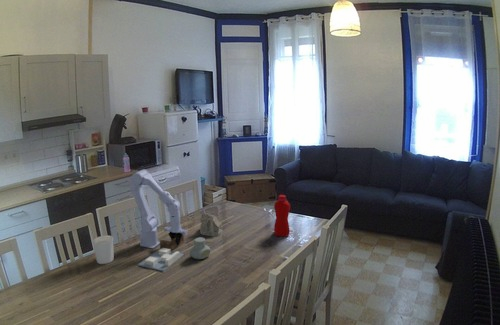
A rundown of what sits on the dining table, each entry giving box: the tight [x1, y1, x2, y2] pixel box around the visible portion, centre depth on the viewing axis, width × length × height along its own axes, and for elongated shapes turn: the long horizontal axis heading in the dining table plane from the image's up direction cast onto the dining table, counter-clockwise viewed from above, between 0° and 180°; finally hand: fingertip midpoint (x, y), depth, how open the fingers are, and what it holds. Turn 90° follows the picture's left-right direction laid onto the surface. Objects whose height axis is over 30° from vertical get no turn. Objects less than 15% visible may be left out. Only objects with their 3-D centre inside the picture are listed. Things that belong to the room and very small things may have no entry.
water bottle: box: [273, 194, 293, 237], centre depth 207 cm, size 9×11×25 cm
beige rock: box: [199, 210, 224, 238], centre depth 214 cm, size 16×16×15 cm
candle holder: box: [92, 234, 115, 265], centre depth 178 cm, size 10×10×12 cm
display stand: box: [137, 248, 185, 273], centre depth 178 cm, size 16×18×4 cm
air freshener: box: [189, 236, 211, 260], centre depth 181 cm, size 11×8×10 cm
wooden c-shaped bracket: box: [159, 234, 185, 252], centre depth 195 cm, size 8×12×5 cm, turn 158°
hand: (176, 244), depth 194 cm, fingers closed on wooden c-shaped bracket
